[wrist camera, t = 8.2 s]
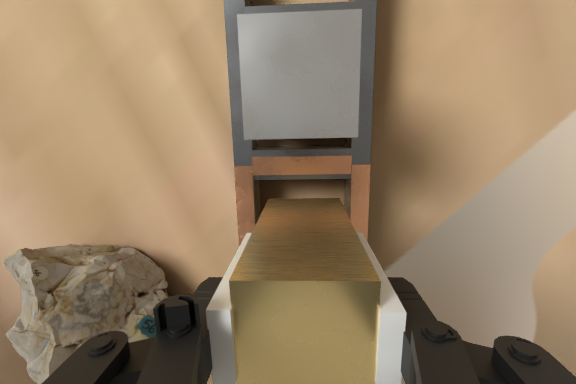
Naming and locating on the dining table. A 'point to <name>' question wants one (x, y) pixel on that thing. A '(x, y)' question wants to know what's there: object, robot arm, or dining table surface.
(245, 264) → the tan rectangular block
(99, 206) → the dining table surface
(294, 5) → the grey block rack
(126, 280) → the rock
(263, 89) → the grey square-ended block
